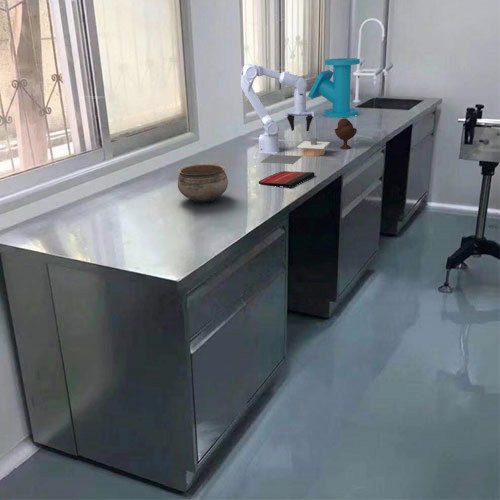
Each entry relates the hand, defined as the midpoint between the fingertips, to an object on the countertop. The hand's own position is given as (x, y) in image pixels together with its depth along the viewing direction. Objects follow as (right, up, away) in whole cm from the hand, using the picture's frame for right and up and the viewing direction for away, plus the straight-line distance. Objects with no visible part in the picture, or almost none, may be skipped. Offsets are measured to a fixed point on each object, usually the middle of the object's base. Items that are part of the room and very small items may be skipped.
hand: (300, 130), depth 290 cm
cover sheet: (+6, -9, -8) cm, 13 cm away
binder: (-10, -31, -46) cm, 57 cm away
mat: (-10, -17, -14) cm, 24 cm away
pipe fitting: (+32, +31, +100) cm, 110 cm away
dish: (+6, -13, -6) cm, 16 cm away
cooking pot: (-42, -41, -69) cm, 91 cm away
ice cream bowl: (+23, -8, +5) cm, 25 cm away
